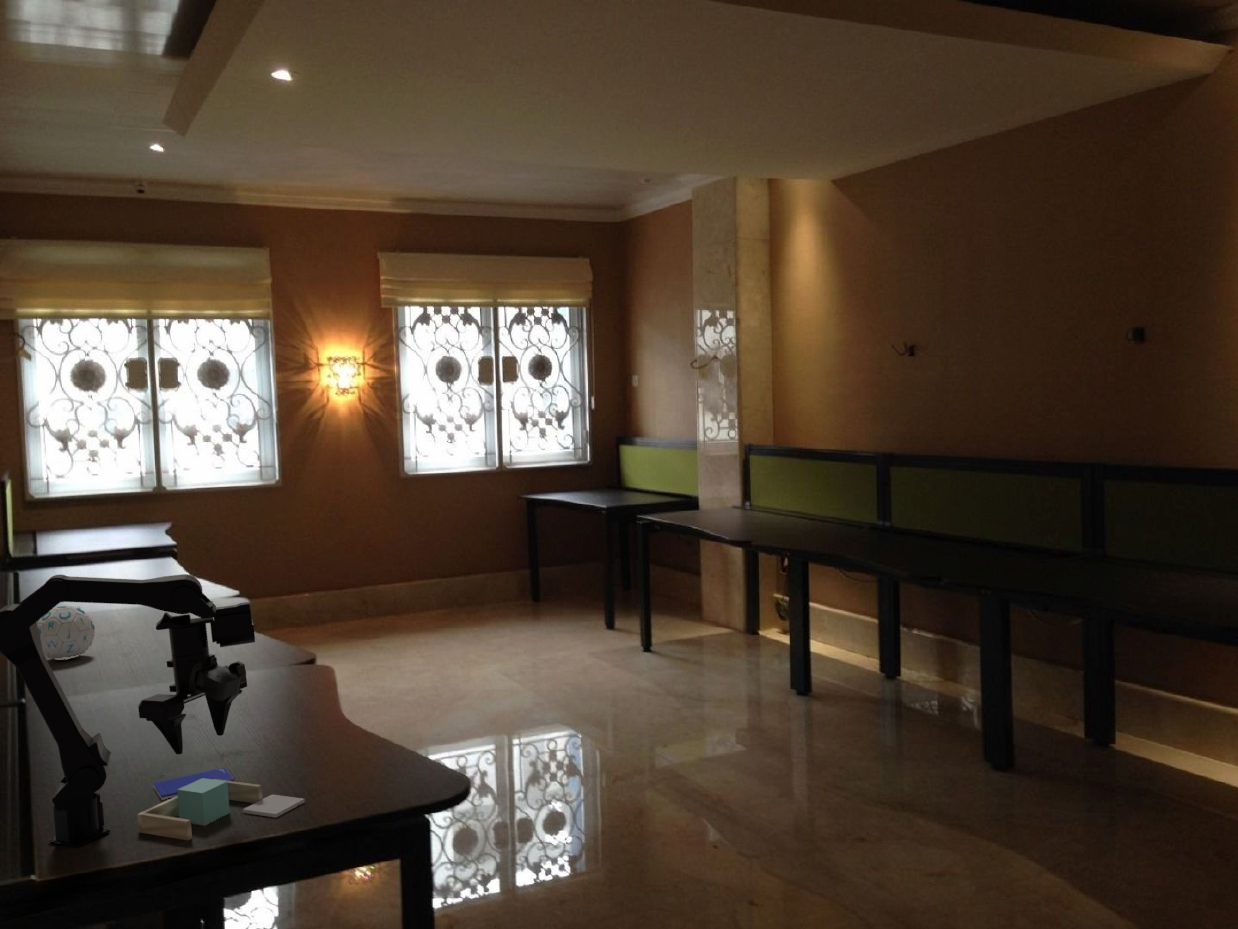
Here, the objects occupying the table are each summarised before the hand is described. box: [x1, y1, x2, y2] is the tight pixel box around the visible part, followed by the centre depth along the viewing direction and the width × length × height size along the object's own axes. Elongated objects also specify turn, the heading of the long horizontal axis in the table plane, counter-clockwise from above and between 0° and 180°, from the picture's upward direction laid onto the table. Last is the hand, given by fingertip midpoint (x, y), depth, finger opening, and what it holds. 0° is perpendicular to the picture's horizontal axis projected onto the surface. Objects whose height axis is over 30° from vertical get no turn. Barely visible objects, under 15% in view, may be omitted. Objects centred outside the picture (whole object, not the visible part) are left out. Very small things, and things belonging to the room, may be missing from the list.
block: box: [177, 778, 230, 827], centre depth 180 cm, size 6×6×6 cm
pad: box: [242, 794, 306, 819], centre depth 183 cm, size 7×7×1 cm
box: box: [136, 779, 263, 841], centre depth 181 cm, size 17×11×3 cm, turn 156°
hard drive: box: [152, 767, 236, 801], centre depth 196 cm, size 2×8×12 cm
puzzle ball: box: [36, 605, 96, 659], centre depth 304 cm, size 15×15×15 cm
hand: (200, 744), depth 180 cm, fingers open, 9 cm apart
